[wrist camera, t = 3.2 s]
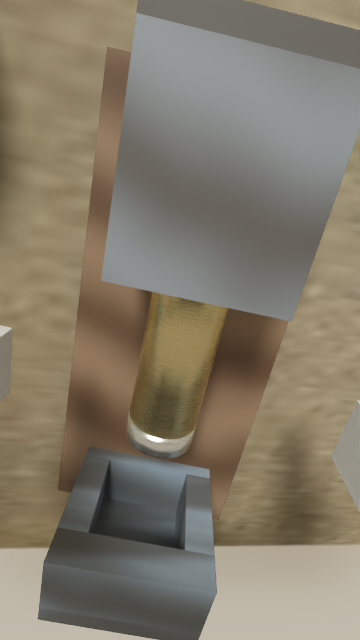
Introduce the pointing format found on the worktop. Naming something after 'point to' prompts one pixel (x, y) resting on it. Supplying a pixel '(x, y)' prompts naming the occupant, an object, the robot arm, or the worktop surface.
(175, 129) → the rig
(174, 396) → the tube
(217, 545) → the worktop surface
